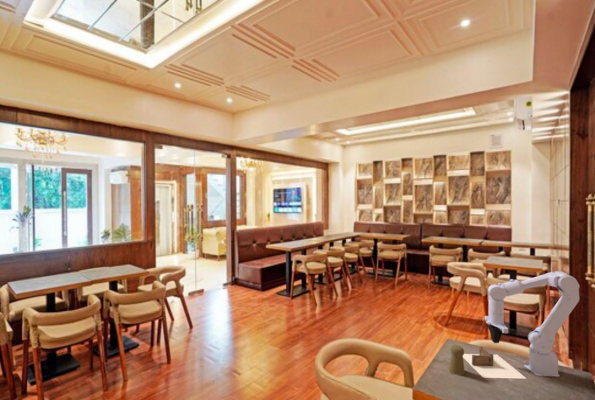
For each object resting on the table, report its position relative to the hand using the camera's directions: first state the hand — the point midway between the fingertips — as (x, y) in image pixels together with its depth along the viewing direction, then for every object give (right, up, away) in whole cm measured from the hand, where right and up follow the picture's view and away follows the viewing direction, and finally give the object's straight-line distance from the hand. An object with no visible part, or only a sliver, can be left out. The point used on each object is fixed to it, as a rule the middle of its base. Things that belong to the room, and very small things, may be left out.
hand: (495, 342), depth 139 cm
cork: (-21, -10, -8) cm, 24 cm away
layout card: (-4, -9, -3) cm, 11 cm away
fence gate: (-8, -9, -2) cm, 12 cm away
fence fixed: (-4, -9, +1) cm, 10 cm away
